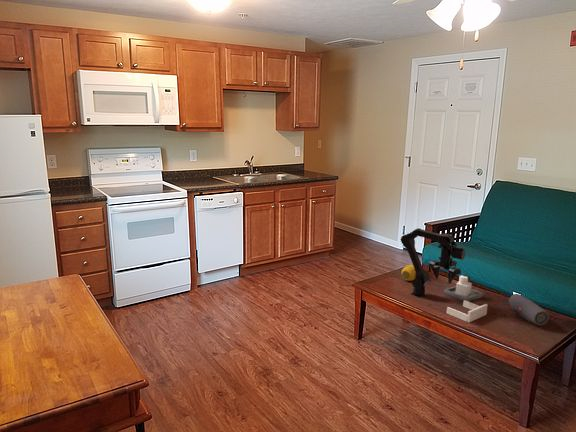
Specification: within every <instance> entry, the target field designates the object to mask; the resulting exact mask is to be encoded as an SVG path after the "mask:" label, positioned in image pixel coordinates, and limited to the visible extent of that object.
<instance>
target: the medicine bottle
mask: <svg viewBox="0 0 576 432" xmlns="http://www.w3.org/2000/svg"><path fill="white" fill-rule="evenodd" d="M458 279H459V280H458V282H456V285H455V286H456V291H455V293H456V294H458V295H461V296H465V297H467V296H468V295H469V294H470V293H471V289H472V282H470V281H471V277H470V276H469V275H467V274H459V278H458Z"/></svg>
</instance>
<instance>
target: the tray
mask: <svg viewBox="0 0 576 432" xmlns="http://www.w3.org/2000/svg"><path fill="white" fill-rule="evenodd" d="M455 291H456V285H455V286H452V287H447V288H445V289H443V294H444V295H448V296H450V297H451V298H454V299H456V300H459V301H462V302H463V301H464V300H465V301H468V302H471V301H475V300H477V299H482V298H483V296H484V293H483V292H480V291H478V290H475V289H472V288H471V293H470V294H469V295H468V296H467V297H465V296H461V295H458V294H456V293H455Z"/></svg>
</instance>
